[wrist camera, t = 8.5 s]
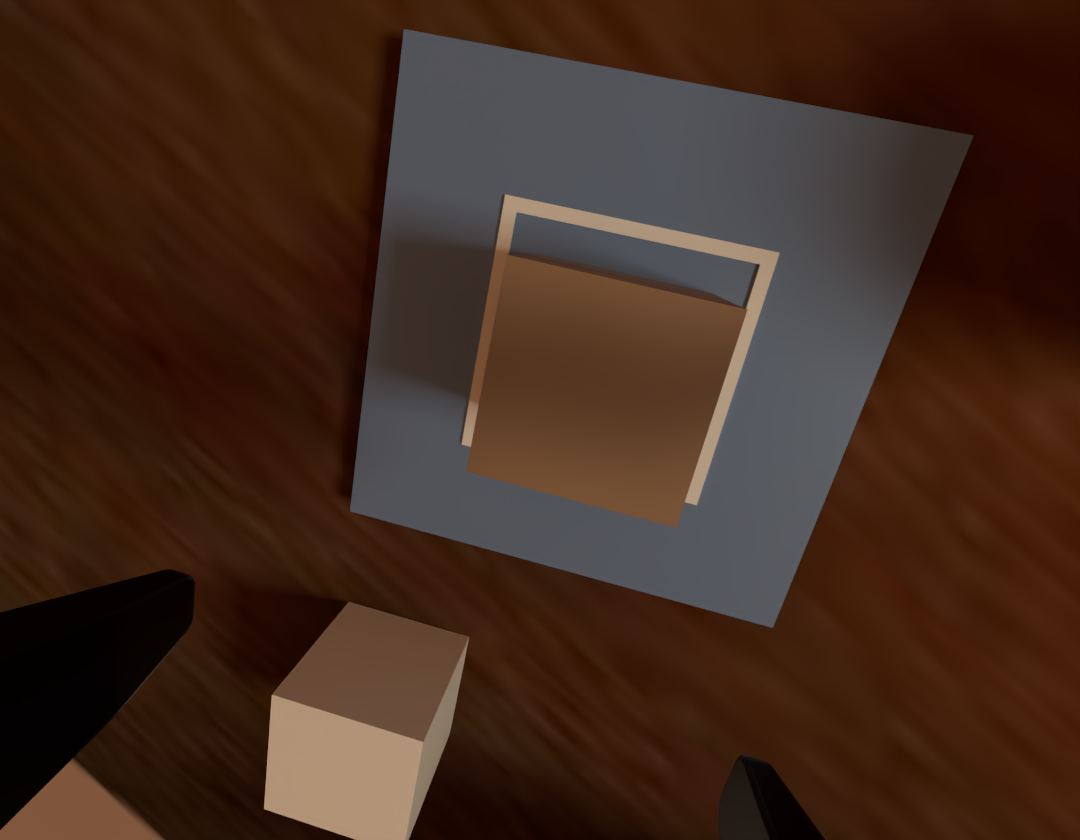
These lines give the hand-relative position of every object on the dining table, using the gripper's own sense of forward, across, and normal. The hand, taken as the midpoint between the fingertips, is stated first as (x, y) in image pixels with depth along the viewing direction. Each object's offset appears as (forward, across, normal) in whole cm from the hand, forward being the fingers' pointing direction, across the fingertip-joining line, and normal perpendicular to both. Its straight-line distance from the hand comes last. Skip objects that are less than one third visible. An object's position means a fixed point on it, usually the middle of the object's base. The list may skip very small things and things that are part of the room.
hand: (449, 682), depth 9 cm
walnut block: (+10, -1, -4) cm, 11 cm away
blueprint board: (+11, -1, -4) cm, 11 cm away
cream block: (+11, +4, +11) cm, 16 cm away
